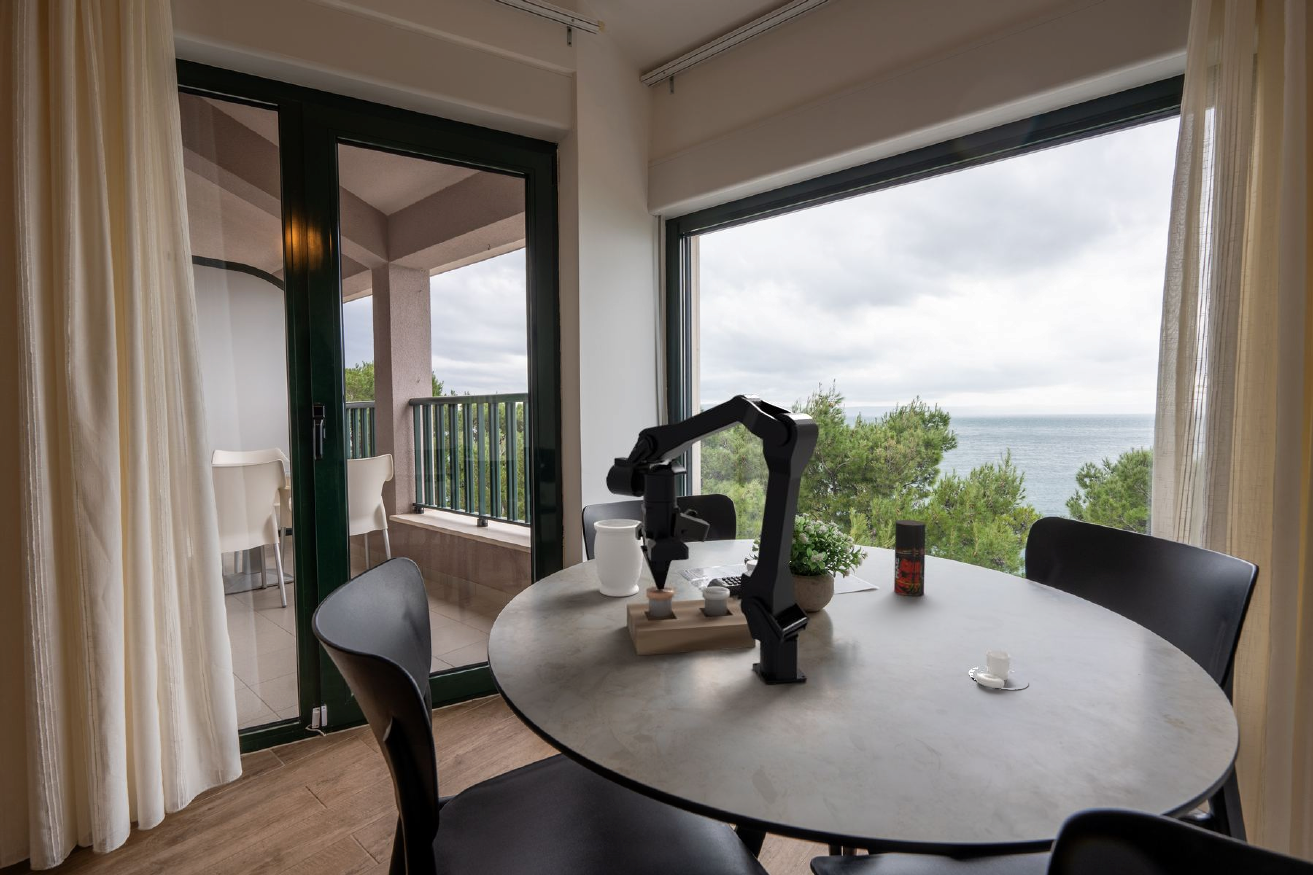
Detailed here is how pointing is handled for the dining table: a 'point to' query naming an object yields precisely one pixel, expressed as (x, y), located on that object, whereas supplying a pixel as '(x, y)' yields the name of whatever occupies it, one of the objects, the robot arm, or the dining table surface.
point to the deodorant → (909, 557)
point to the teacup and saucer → (994, 669)
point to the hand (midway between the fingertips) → (660, 588)
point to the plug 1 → (660, 600)
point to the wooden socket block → (687, 628)
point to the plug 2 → (715, 600)
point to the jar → (618, 556)
